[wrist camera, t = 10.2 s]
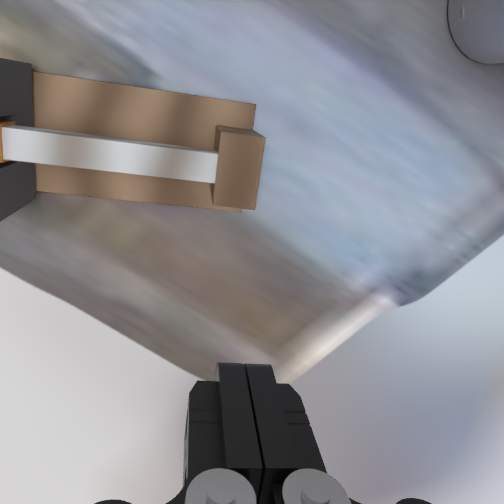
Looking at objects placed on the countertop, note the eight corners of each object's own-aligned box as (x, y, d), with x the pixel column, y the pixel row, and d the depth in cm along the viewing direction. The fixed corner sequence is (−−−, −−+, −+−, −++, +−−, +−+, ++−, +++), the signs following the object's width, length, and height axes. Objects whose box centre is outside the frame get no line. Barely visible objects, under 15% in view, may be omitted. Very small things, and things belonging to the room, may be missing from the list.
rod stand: (254, 104, 35) (269, 106, 28) (240, 209, 38) (251, 236, 31) (-67, 56, 31) (-147, 45, 24) (-55, 178, 34) (-122, 201, 27)
